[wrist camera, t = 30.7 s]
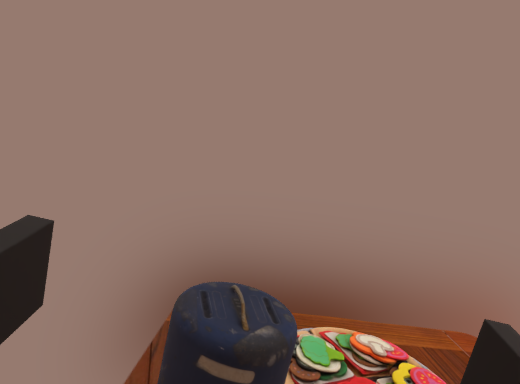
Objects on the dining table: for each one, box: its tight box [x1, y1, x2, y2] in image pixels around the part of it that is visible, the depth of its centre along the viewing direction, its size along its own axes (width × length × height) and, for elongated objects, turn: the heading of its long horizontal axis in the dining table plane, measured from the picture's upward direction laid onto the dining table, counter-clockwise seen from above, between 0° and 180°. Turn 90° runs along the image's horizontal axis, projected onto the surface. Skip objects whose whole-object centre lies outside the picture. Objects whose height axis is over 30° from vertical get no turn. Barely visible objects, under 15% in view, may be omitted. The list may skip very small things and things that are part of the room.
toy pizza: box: [285, 327, 446, 384], centre depth 62 cm, size 28×28×4 cm
